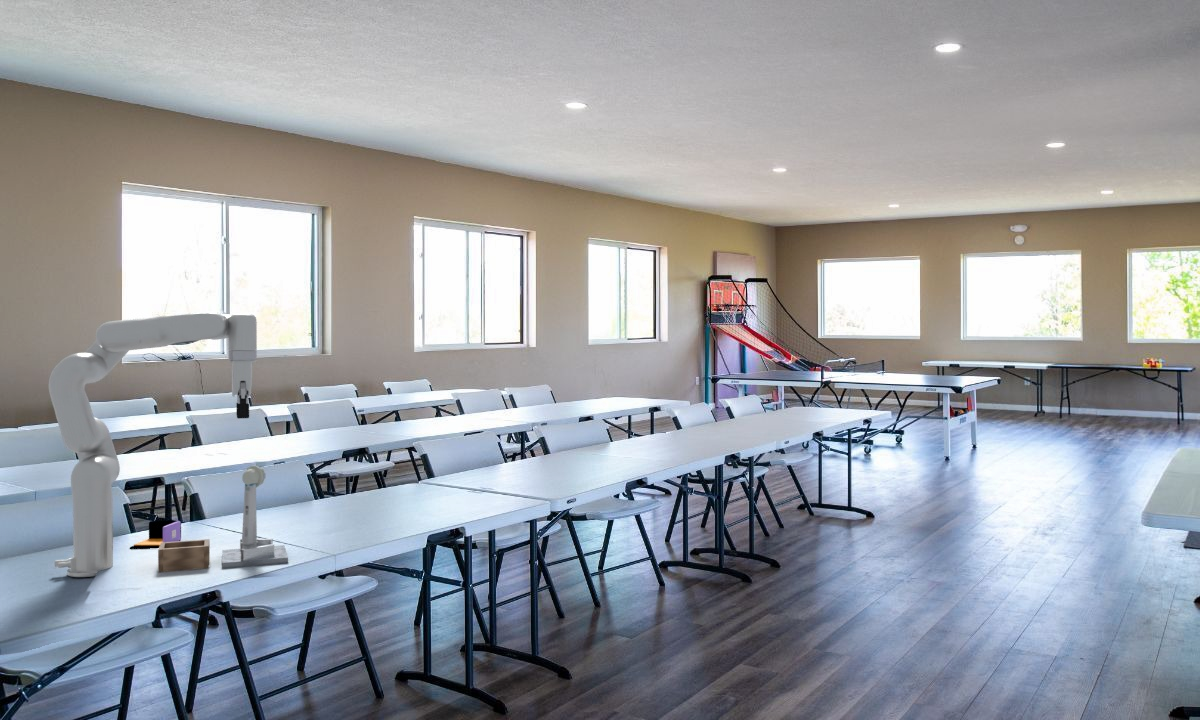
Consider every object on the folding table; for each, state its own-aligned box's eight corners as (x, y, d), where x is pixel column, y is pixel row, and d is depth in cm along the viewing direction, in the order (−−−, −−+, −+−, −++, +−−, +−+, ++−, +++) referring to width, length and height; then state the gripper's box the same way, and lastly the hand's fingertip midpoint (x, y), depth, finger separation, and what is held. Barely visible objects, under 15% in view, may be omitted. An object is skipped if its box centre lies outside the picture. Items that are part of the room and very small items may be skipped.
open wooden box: (158, 572, 241) (158, 549, 241) (160, 564, 251) (160, 542, 251) (208, 568, 246) (208, 546, 246) (209, 560, 255) (209, 539, 255)
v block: (221, 568, 245) (221, 551, 245) (222, 555, 262) (222, 539, 262) (288, 562, 252) (287, 546, 252) (284, 550, 269) (284, 535, 269)
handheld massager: (236, 556, 254) (236, 467, 254) (249, 551, 260) (249, 464, 261) (253, 556, 253) (253, 467, 253) (266, 552, 259) (266, 464, 260)
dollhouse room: (186, 541, 283) (186, 519, 283) (167, 549, 271) (167, 526, 271) (148, 541, 283) (148, 519, 283) (127, 549, 271) (127, 527, 271)
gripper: (228, 357, 264) (228, 415, 264) (228, 357, 248) (228, 419, 248) (255, 357, 267) (255, 415, 267) (257, 357, 251) (257, 418, 251)
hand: (242, 417), depth 258 cm, fingers open, 9 cm apart
